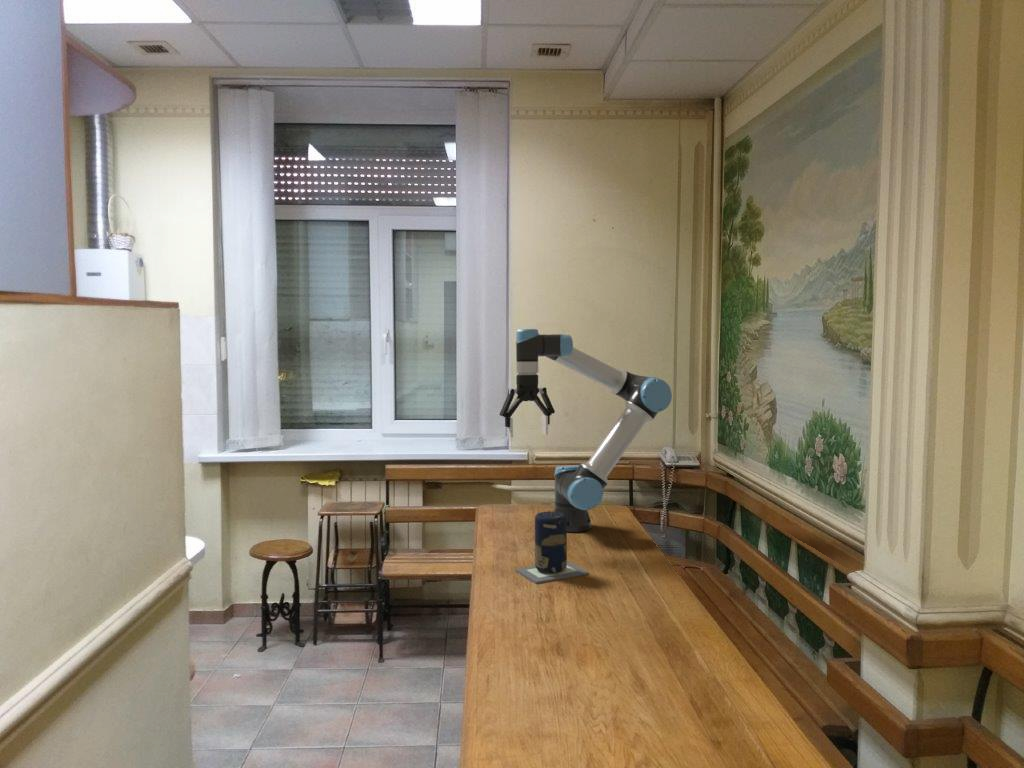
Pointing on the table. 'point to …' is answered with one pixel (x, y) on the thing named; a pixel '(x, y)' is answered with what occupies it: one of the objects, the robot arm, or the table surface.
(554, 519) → the canister
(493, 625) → the table surface
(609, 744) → the table surface
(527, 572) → the mat
